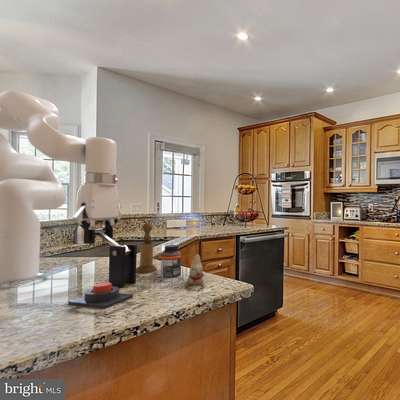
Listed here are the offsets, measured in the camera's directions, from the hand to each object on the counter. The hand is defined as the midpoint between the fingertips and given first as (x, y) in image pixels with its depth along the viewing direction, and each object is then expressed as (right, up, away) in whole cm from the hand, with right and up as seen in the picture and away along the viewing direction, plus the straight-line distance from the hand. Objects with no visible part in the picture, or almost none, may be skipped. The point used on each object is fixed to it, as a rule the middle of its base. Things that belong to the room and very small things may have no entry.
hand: (98, 241), depth 82 cm
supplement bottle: (+17, -14, +9) cm, 24 cm away
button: (+12, -10, -15) cm, 21 cm away
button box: (+12, -13, -15) cm, 23 cm away
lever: (+4, -1, -1) cm, 4 cm away
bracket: (+8, -14, -2) cm, 16 cm away
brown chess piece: (+6, -14, +15) cm, 21 cm away
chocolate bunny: (+27, -14, +2) cm, 31 cm away
